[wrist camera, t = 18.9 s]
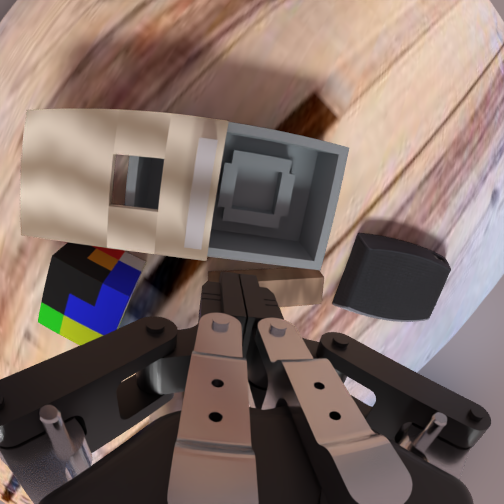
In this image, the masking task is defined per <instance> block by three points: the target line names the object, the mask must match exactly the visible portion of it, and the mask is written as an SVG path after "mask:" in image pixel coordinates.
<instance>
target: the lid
mask: <svg viewBox="0 0 504 504" xmlns="http://www.w3.org/2000/svg"><path fill="white" fill-rule="evenodd" d="M228 123H229V121H227V120H221V119H214V118H207V117H199V116H191V115H182V114H173V113H163V112H151V111H137V110H119V109H82V108H72V109H36V110H27V112H26V119H25V126H24V135H23V145H22V158H21V177H20V222H21V235H22V236H29V237H36V238H42V239H49V240H56V241H63V242H70V243H77V244H84V245H91V246H98V247H105V248H112V249H120V250H127V251H134V252H142V253H149V254H157V255H165V256H172V257H180V258H188V259H195V260H203V261H207V254H208V246H209V239H210V232H211V226H212V219H213V212H214V206H215V199H216V193H217V187H218V180H219V174H220V168H221V162H222V156H223V151H224V145H225V139H226V134H227V128H228ZM116 154H119V155H131V156H142V157H152V158H161V159H164V165H163V173H162V181H161V189H160V198H159V207H158V209H149V208H141V207H132V206H124V205H115V204H112V191H113V180H114V170H115V160H116Z"/></svg>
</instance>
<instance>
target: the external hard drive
mask: <svg viewBox="0 0 504 504" xmlns="http://www.w3.org/2000/svg"><path fill="white" fill-rule="evenodd" d="M450 271H451V268H450V266H449V264H448V262H447V260H446V259H445V258H444V257H443V256H441V255H439V254H437V253H435V252H433V251H431V250H428V249H426V248H423V247H421V246H418V245H415V244H412V243H409V242H405V241H402V240H398V239H394V238H389V237H384V236H379V235H373V234H365V233H358V235H357V237H356V240H355V243H354V246H353V249H352V252H351V254H350V257H349V260H348V263H347V266H346V268H345V271H344V274H343V276H342V279H341V282H340V284H339V287H338V290H337V292H336V295H335V297H334V300H333V303H332V304H333V305H335V306H337V307H340V308H343V309H345V310H348V311H351V312H354V313H358V314H361V315H365V316H368V317H373V318H377V319H382V320H388V321H399V322H414V321H424V320H428V319H429V318H430V316H431V314H432V311H433V309H434V307H435V305H436V303H437V300H438V298H439V296H440V294H441V291H442V289H443V287H444V284H445V282H446V280H447V277H448V275H449V273H450Z"/></svg>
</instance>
